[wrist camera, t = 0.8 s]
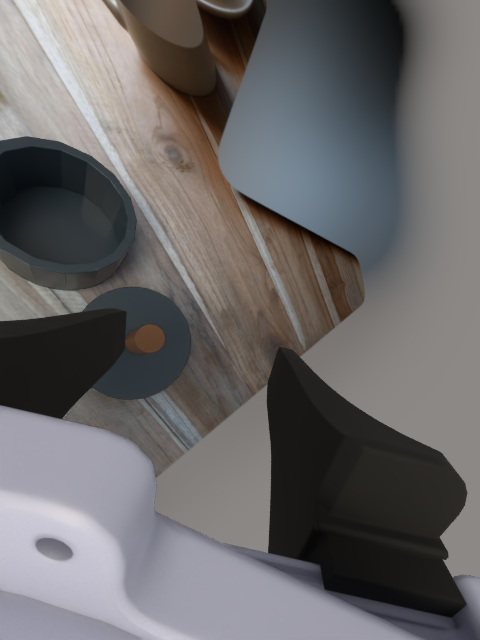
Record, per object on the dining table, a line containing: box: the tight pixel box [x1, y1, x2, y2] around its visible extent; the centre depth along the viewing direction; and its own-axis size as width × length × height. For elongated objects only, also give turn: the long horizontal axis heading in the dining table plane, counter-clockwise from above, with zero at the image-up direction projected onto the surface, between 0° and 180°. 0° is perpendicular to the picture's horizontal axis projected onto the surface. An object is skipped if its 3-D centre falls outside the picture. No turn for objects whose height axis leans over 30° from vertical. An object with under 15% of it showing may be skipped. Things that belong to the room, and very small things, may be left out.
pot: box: [0, 136, 137, 290], centre depth 20 cm, size 10×10×5 cm
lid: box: [82, 287, 191, 400], centre depth 23 cm, size 11×11×5 cm
